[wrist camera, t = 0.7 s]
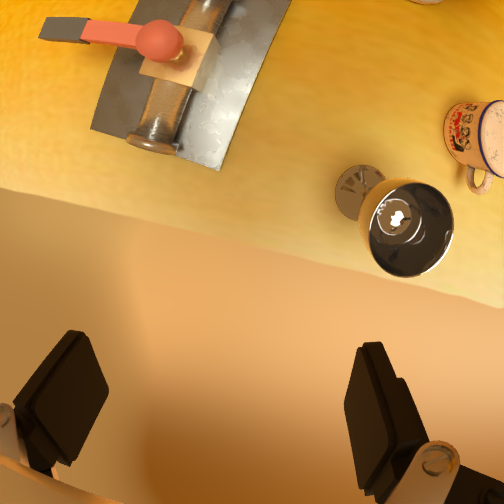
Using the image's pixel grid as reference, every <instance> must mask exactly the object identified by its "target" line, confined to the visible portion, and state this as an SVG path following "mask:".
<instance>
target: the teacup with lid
mask: <svg viewBox="0 0 504 504" xmlns="http://www.w3.org/2000/svg"><path fill="white" fill-rule="evenodd" d="M444 137H445V142H446V145H447V148H448V150H449V152H450V153H451V155H452V156H453V157H454V158H455V159H456V160H457V161H458V162H459V163H461V164H463V165H466V166H467V169H466V182H467V185H468V187H469V189H470V190H471V191H472V192H474V193H476V194H478V195H483V194H485V193H486V192H487V191H488V190H489V188H490V186H491V184H492V180H493V176H494V175H496V176H498V177H500V178H504V101H502V100H496V101H493V102H486V103H462V104H458V105H456V106H454V107H453V108H452V109H451V110H450V111H449V113H448V114H447V117H446V119H445V124H444ZM475 168H477V169H481V170H484V171H486V172H485V177H484V180H483V182H482V184H481V185H480V186H479V187H478V188H477V187H476V186H475V183H474V171H475Z"/></svg>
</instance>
